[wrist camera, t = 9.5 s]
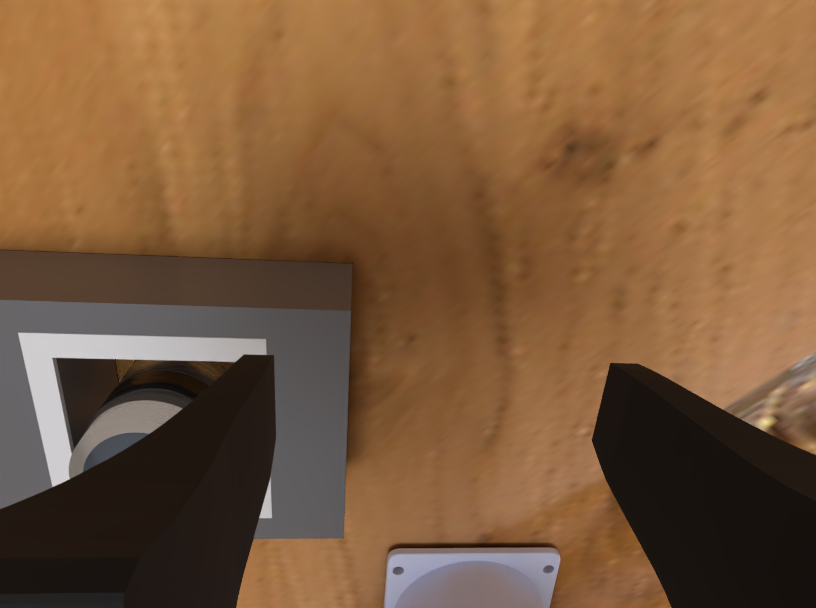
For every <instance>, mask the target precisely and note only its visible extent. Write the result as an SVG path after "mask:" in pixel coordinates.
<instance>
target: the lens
mask: <svg viewBox="0 0 816 608" xmlns="http://www.w3.org/2000/svg"><path fill="white" fill-rule="evenodd" d="M234 363H235V362H219V361H175V360H135V361H134V363H133V364H132V365H131V367H130V368H129V370H128V371H127V373H126V374H125V376H124V377H123V379H122V380H121V382H120V383H119V384H118V386H117V387H115V389H114V390H113V391H112V392H111V393H110V395H109V396H108V398H107V399H106V400H105V402H104V403H103V405H102V406H101V408H100V409H99V411H98V412H97V413H96V415H95V416H94V418H93V419H92V421H91V422H90V424H89V425H88V427H87V429H86V431H85V433H84V436H83V437H82V438H81V440H80V441H79V443H78V444H77V446H76V447H75V449H74V451H73V453H72V455H71V458H70V462H69V478H70V479H71V478H73V477H75V476H77V475H79V474H80V473H82V472H84V471H86V470H88V469H90V468H92V467H94V466H96V465H98V464H100V463H101V462H103V461H105V460H107V459H109V458H111V457H113V456H114V455H116V454H118V453H120V452H121V451H123V450H125V449H126V448H128V447H129V446H131V445H133V444H134V443H136V442H137V441H139V440H141V439H142V438H144V437H145V436H147V435H148V434H150V433H151V432H153V431H154V430H155V429H157V428H158V427H160V426H161V425H162V424H164V423H165V422H166V421H168V420H169V419H170V418H171V417H173V416H174V415H175V414H177V413H178V412H179V411H180V410H182V409H183V408H184V407H186V406H187V405H188V404H189V403H191V402H192V401H193V400H194V399H195V398H196V397H197V396H199V395H200V394H201V393H202V392H203V391H204V390H205V389H207V388H208V387H209V386H210V385H211V384H212V383H213V382H214V381H215V380H217V379H218V378H219V377H220V376H221V375H222V374H223V373H224V372H225V371H226V370H227V369H228V368H229V367H230V366H232V365H233V364H234Z"/></svg>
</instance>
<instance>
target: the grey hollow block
mask: <svg viewBox="0 0 816 608" xmlns="http://www.w3.org/2000/svg"><path fill="white" fill-rule="evenodd" d="M352 269H353V264H350V263H325V262H299V261H273V260H247V259H222V258H196V257H170V256H144V255H119V254H93V253H67V252H42V251H16V250H0V509H2V508H4V507H7V506H9V505H12V504H14V503H17V502H19V501H22V500H24V499H26V498H29V497H31V496H34V495H36V494H38V493H41V492H43V491H45V490H47V489H49V488H52V487H54V486H56V485H58V484H61V483H63V482H65V481H67V480H69V479H70V478H69V462H70V458H71V455H72V453H73V451H74V449H75V447H76V446H77V444H78V443H79V441H80V440H81V438H82V437H83V436H84V433H85V431H86V429H87V427H88V425H89V424H90V422H91V421H92V419H93V418H94V416H95V415H96V413H97V412H98V411H99V409H100V408H101V406H102V405H103V403H104V402H105V400H106V399H107V398H108V396H109V395H110V393H111V392H112V391H113V390H114V389H115V387H117V386H118V384H119V383H118V377H117V370H116V364H115V359H130V360H175V361H219V362H236V361H237V360H238V359H239V358H241V357H242V356H243V355H244V354H248V355H274V372H275V409H276V442H275V449H274V456H273V463H272V470H271V476H270V481H269V485H268V488H267V492H266V496H265V499H264V503H263V506H262V510H261V514H260V517H259V521H258V524H257V528H256V531H255V535H254V538H253V539H299V538H344V514H345V484H346V453H347V422H348V392H349V361H350V330H351V300H352Z"/></svg>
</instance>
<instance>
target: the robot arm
mask: <svg viewBox="0 0 816 608" xmlns="http://www.w3.org/2000/svg"><path fill="white" fill-rule="evenodd" d="M275 442H276V409H275V372H274V355H248V354H244V355H243V356H242V357H241V358H239V359H238V360H237V361H236V362H235V363H234V364H233V365H232V366H230V367H229V368H228V369H227V370H226V371H225V372H224V373H223V374H222V375H221V376H220V377H219V378H218V379H217V380H215V381H214V382H213V383H212V384H211V385H210V386H209V387H208V388H207V389H205V390H204V391H203V392H202V393H201V394H200V395H199V396H197V397H196V398H195V399H194V400H193V401H192V402H191V403H189V404H188V405H187V406H186V407H184V408H183V409H182V410H180V411H179V412H178V413H177V414H175V415H174V416H173V417H171V418H170V419H169V420H168V421H166V422H165V423H164V424H162V425H161V426H160V427H158V428H157V429H155V430H154V431H153V432H151V433H150V434H148V435H147V436H145V437H144V438H142V439H141V440H139V441H137V442H136V443H134V444H133V445H131V446H129V447H128V448H126V449H125V450H123V451H121V452H120V453H118V454H116V455H114V456H113V457H111V458H109V459H107V460H105V461H103V462H101V463H100V464H98V465H96V466H94V467H92V468H90V469H88V470H86V471H84V472H82V473H80V474H79V475H77V476H75V477H73V478H71V479H69V480H67V481H65V482H63V483H61V484H58V485H56V486H54V487H52V488H49V489H47V490H45V491H43V492H41V493H38V494H36V495H34V496H31V497H29V498H26V499H24V500H22V501H19V502H17V503H14V504H12V505H9V506H7V507H4V508H2V509H0V608H236V605H237V600H238V595H239V590H240V586H241V582H242V578H243V574H244V570H245V566H246V563H247V559H248V556H249V552H250V549H251V545H252V542H253V538H254V535H255V531H256V528H257V524H258V521H259V517H260V514H261V510H262V506H263V503H264V499H265V496H266V492H267V488H268V485H269V481H270V476H271V470H272V463H273V456H274V449H275ZM592 442H593V445H594V448H595V451H596V454H597V457H598V460H599V463H600V465H601V468H602V471H603V473H604V476H605V478H606V481H607V483H608V485H609V487H610V489H611V491H612V492H613V494H614V496H615V498H616V500H617V502H618V504H619V506H620V508H621V509H622V511H623V513H624V515H625V517H626V519H627V520H628V522H629V524H630V526H631V528H632V530H633V531H634V533H635V535H636V537H637V539H638V541H639V542H640V544H641V546H642V548H643V550H644V552H645V554H646V555H647V557H648V559H649V561H650V563H651V565H652V566H653V568H654V570H655V572H656V574H657V576H658V578H659V580H660V582H661V584H662V586H663V588H664V591H665V593H666V595H667V598H668V600H669V603H670V605H671V607H672V608H816V455H814V454H811V453H809V452H807V451H805V450H802V449H800V448H798V447H795V446H793V445H791V444H789V443H787V442H785V441H782V440H780V439H778V438H776V437H774V436H772V435H770V434H768V433H766V432H764V431H762V430H760V429H758V428H756V427H754V426H752V425H750V424H748V423H746V422H745V421H743V420H741V419H739V418H737V417H735V416H733V415H732V414H730V413H728V412H726V411H724V410H722V409H721V408H719V407H717V406H715V405H713V404H712V403H710V402H708V401H706V400H705V399H703V398H701V397H699V396H698V395H696V394H694V393H692V392H691V391H689V390H687V389H685V388H683V387H682V386H680V385H678V384H676V383H675V382H673V381H671V380H669V379H668V378H666V377H664V376H662V375H660V374H658V373H656V372H654V371H652V370H650V369H648V368H646V367H644V366H641V365H639V364H625V363H610V367H609V371H608V375H607V379H606V384H605V388H604V392H603V396H602V400H601V404H600V409H599V413H598V417H597V421H596V425H595V429H594V434H593V438H592ZM560 561H561V560H560V555H559V552H558V551H557V550H556V549H555V548H550V547H534V548H398V549H394V550H392V551H391V552H390V553H389V554H388V556H387V569H386V583H385V596H384V608H549V607H550V603H551V598H552V594H553V590H554V586H555V582H556V577H557V573H558V569H559V565H560ZM548 565H549V566H548ZM545 566H546V567H545ZM395 567H400V568H395Z"/></svg>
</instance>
